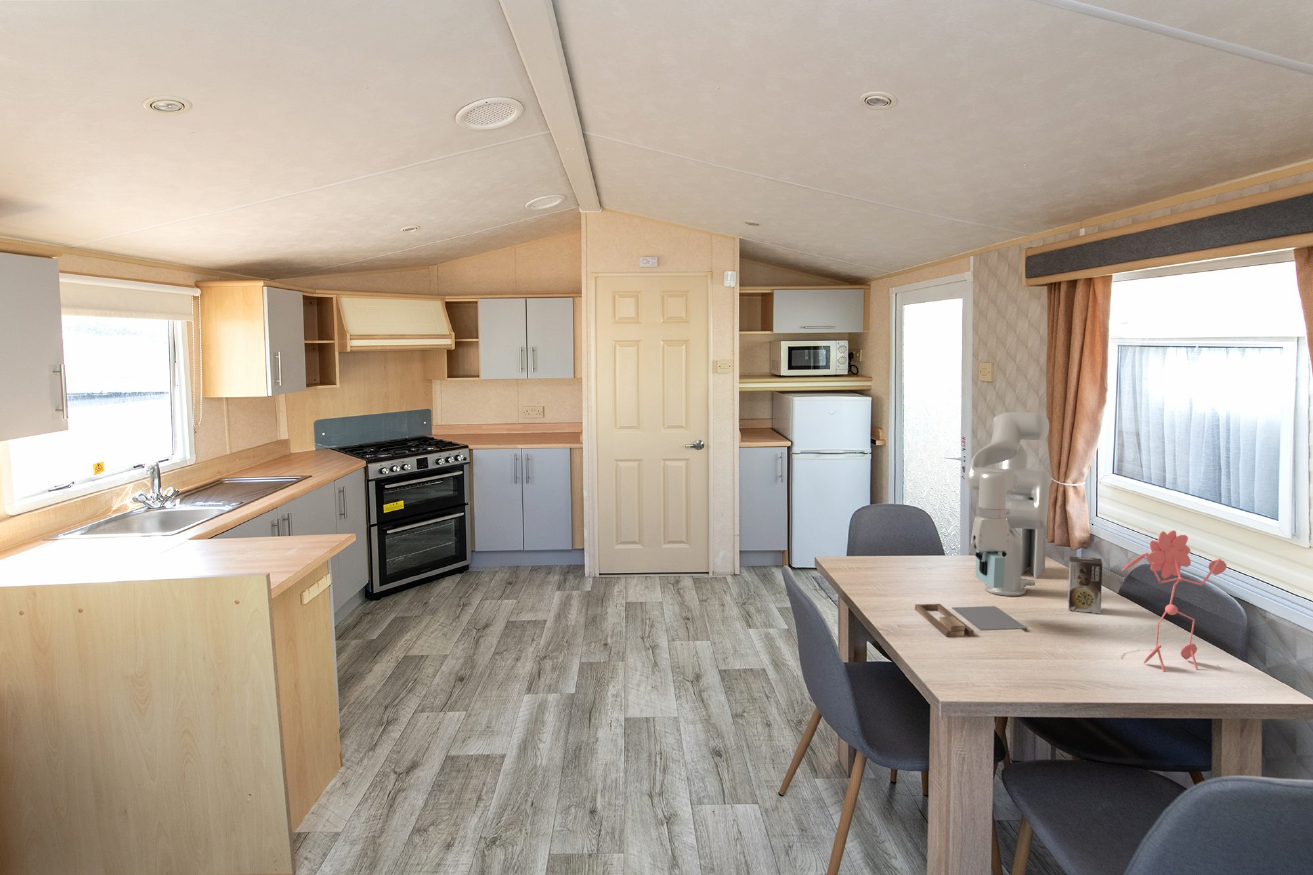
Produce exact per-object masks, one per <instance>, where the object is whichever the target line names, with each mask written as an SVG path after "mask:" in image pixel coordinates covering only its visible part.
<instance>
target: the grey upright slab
mask: <svg viewBox="0 0 1313 875" xmlns="http://www.w3.org/2000/svg"><path fill="white" fill-rule="evenodd" d="M1021 497H1022V498H1021V499H1023V500H1034V499H1033V498H1032V497H1029V496H1021ZM1047 531H1048V521H1047V522H1046V525H1045V527H1044V528H1043V529H1038V530H1037V529H1025V528H1020V537H1021V539H1022V563H1021V576H1022V575H1023V574H1024V573H1025V572H1026V571H1028V569H1029V570H1030V572H1031V574H1032V575H1033V577H1034V579H1037V578H1038V577H1039V576H1040V575H1041V574H1042V573H1043V572H1044V571H1045V570H1046V555H1047V553H1046V552H1047Z"/></svg>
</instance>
